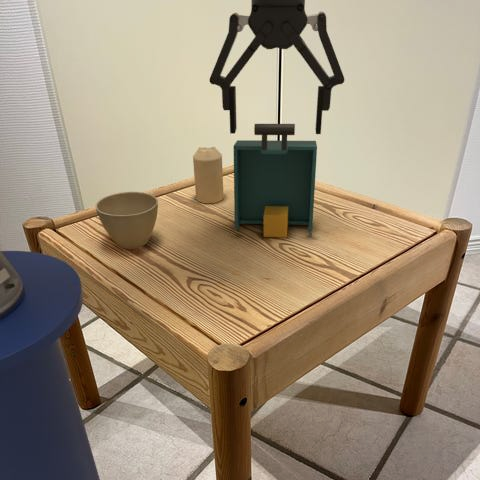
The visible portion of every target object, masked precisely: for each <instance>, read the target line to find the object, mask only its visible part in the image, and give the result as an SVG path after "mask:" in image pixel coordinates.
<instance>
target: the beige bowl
mask: <svg viewBox="0 0 480 480" xmlns="http://www.w3.org/2000/svg"><path fill="white" fill-rule="evenodd" d="M158 208H159V200H158V198H157V197H156V196H155V195H153V194H150V193H148V192H143V191H124V192H123V191H121V192H116V193H113V194H112V193H111V194H109V195H106V196H104V197H102V198H100V199H99V200H98V201H96V203H95V211H96V214H97V216H98V219H99V221H100V223H101V225H102V226H103V228H104V230H105V231H106V233H107V234H108V236H109V237H110V238H111V239H112V241H113V242H114V243H115V244H116V245H117V246H118V247H120V248H121V249H127V250H133V249H134V250H135V249H139V248H142V247H144V246H146V245H147V243H148V241H149V240H150V238H151V236H152V235H153V232H154V228H155V225H156V221H157V217H158Z"/></svg>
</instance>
